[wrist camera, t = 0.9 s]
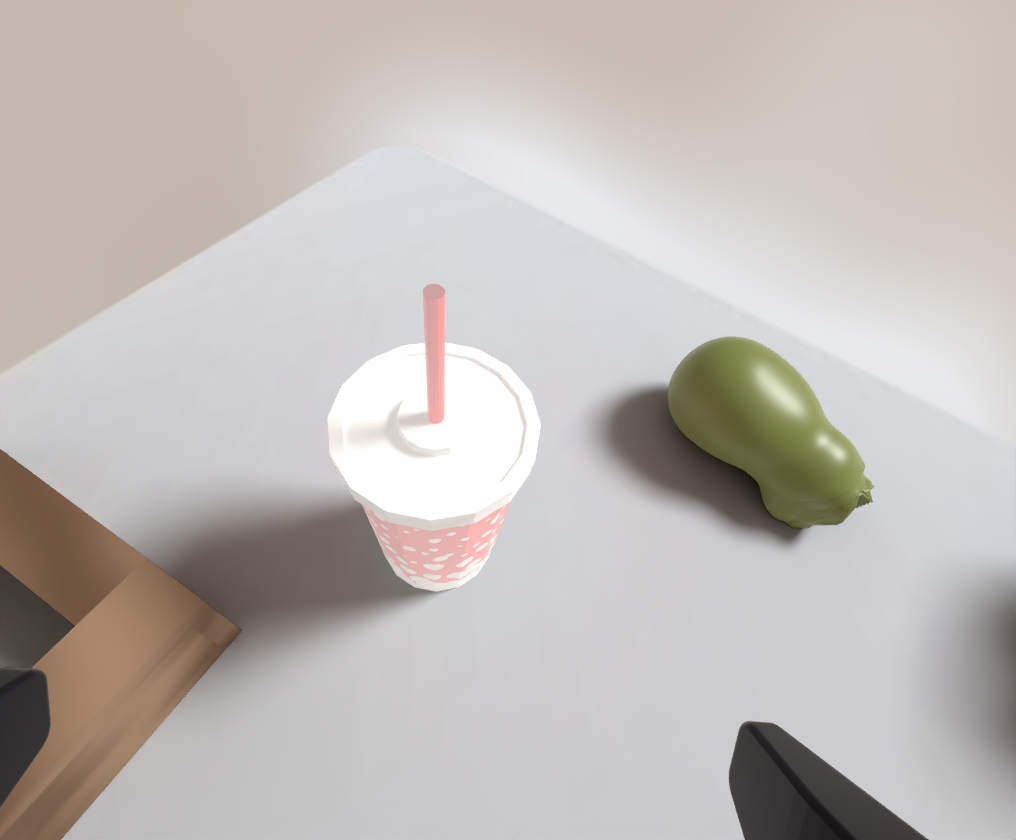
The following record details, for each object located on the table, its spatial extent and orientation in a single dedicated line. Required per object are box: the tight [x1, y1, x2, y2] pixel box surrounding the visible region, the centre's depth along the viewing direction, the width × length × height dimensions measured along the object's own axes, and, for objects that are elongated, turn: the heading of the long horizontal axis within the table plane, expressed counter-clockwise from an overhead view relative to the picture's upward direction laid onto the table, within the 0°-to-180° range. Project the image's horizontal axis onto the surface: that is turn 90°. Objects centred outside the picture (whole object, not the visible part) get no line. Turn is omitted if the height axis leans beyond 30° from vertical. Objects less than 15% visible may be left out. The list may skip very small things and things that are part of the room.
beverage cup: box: [328, 284, 541, 592], centre depth 17 cm, size 6×6×14 cm
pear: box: [668, 337, 874, 528], centre depth 25 cm, size 6×5×10 cm
